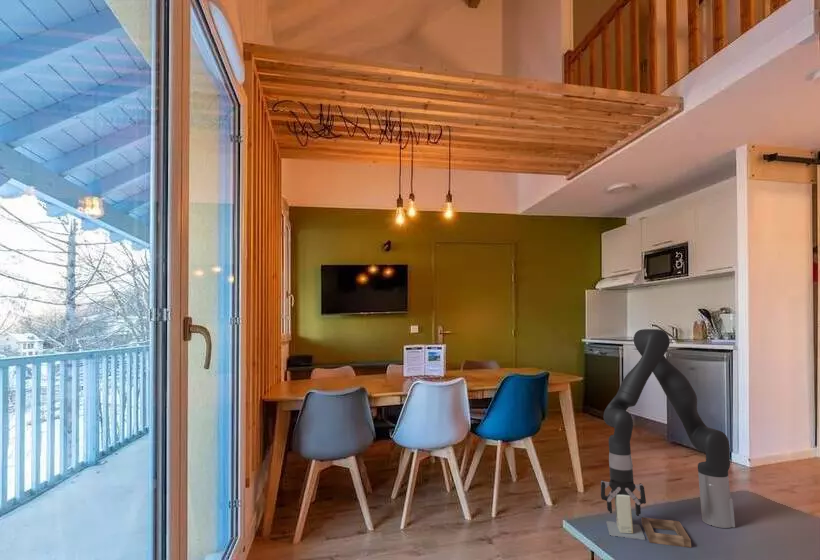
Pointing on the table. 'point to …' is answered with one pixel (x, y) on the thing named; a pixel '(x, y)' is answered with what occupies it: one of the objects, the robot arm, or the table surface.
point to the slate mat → (615, 532)
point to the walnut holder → (666, 539)
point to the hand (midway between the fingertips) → (623, 513)
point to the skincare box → (623, 513)
